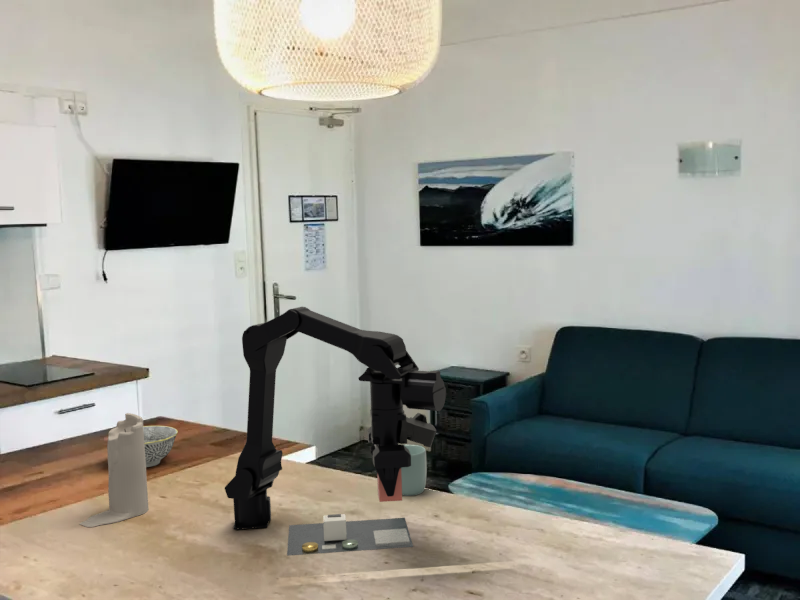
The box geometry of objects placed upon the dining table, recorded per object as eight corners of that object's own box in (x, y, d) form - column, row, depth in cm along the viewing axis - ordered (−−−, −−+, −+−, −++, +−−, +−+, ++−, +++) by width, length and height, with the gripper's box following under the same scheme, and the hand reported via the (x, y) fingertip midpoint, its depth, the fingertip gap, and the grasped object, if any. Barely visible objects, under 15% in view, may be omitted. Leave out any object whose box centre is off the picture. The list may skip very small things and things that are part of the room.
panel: (287, 562, 144) (286, 551, 144) (289, 531, 158) (289, 521, 157) (413, 553, 146) (413, 542, 146) (404, 523, 160) (404, 514, 160)
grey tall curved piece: (74, 522, 166) (66, 424, 164) (137, 502, 176) (131, 410, 174) (91, 530, 161) (84, 429, 159) (155, 510, 171) (149, 415, 169)
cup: (423, 503, 171) (422, 455, 170) (386, 501, 172) (385, 454, 171) (429, 490, 178) (428, 444, 177) (394, 488, 180) (393, 443, 179)
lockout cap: (379, 501, 147) (378, 467, 146) (377, 494, 150) (376, 460, 150) (402, 500, 147) (401, 465, 146) (399, 492, 151) (398, 459, 150)
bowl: (193, 459, 206) (191, 429, 206) (142, 477, 193) (140, 446, 192) (149, 451, 215) (147, 422, 214) (97, 468, 202) (95, 437, 201)
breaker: (324, 541, 149) (323, 520, 148) (324, 534, 152) (323, 514, 151) (346, 539, 149) (345, 519, 149) (345, 533, 152) (345, 513, 152)
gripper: (439, 416, 138) (441, 507, 140) (425, 392, 157) (427, 473, 159) (373, 420, 137) (375, 511, 139) (366, 395, 156) (368, 476, 157)
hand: (389, 491), depth 149 cm, fingers closed on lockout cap, 4 cm apart
